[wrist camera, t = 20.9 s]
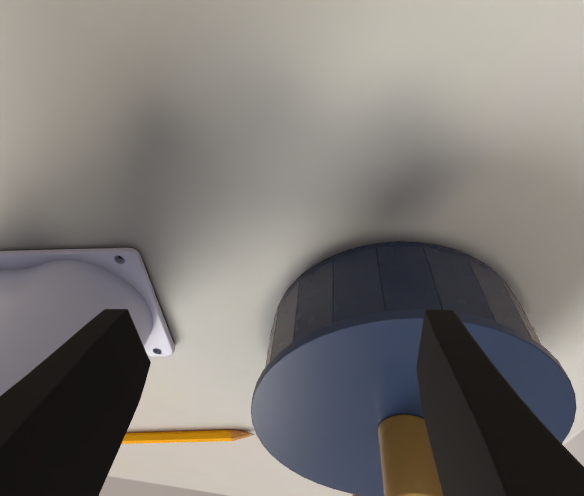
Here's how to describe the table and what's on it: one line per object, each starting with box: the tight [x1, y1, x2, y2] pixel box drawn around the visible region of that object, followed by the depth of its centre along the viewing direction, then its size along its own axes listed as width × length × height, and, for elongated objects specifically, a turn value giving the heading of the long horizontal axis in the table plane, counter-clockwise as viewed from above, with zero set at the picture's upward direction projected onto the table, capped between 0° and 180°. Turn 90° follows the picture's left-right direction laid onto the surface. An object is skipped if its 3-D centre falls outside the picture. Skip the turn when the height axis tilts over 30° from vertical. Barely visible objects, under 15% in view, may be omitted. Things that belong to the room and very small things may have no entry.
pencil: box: [121, 430, 254, 444], centre depth 31 cm, size 1×13×1 cm, turn 102°
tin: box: [265, 242, 541, 368], centre depth 22 cm, size 14×14×5 cm
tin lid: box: [251, 309, 576, 496], centre depth 18 cm, size 14×14×4 cm
